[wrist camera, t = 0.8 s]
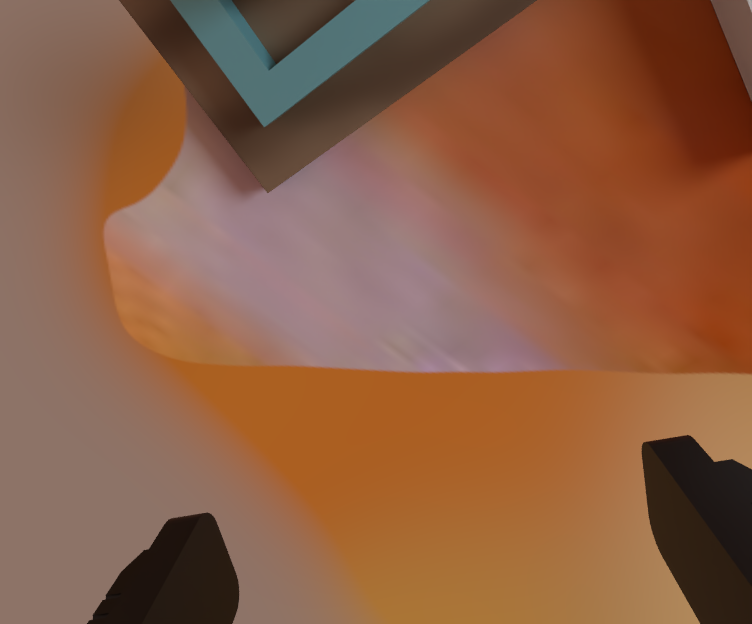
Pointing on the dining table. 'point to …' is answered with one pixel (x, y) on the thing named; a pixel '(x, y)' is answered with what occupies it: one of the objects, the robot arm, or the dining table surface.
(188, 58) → the stake board
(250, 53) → the teal frame with handle
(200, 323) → the dining table surface
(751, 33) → the tray
